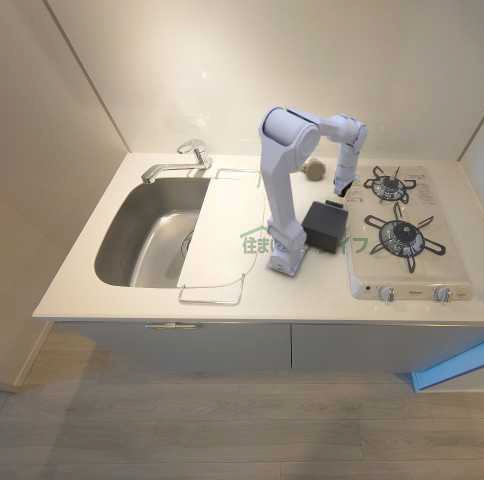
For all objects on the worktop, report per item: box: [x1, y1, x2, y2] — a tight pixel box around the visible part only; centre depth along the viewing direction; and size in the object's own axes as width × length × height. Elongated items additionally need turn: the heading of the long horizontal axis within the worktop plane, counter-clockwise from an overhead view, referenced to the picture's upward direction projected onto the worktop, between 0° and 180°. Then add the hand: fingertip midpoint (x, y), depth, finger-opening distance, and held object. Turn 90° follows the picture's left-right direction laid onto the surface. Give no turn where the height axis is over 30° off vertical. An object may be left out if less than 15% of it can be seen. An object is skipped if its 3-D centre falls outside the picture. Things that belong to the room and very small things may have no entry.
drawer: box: [315, 199, 349, 212], centre depth 84 cm, size 13×10×7 cm
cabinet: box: [300, 200, 350, 255], centre depth 82 cm, size 11×12×9 cm
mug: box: [301, 157, 326, 181], centre depth 100 cm, size 8×10×10 cm
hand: (341, 195), depth 86 cm, fingers closed
